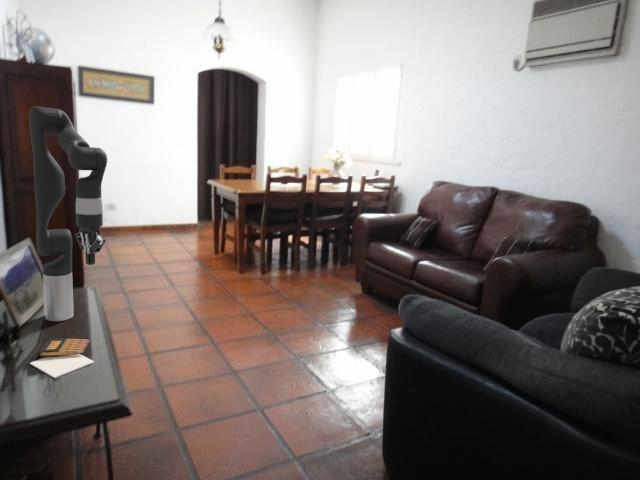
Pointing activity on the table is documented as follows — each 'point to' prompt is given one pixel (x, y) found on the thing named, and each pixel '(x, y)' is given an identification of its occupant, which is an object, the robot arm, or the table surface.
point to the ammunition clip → (63, 347)
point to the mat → (61, 364)
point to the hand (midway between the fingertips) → (90, 264)
